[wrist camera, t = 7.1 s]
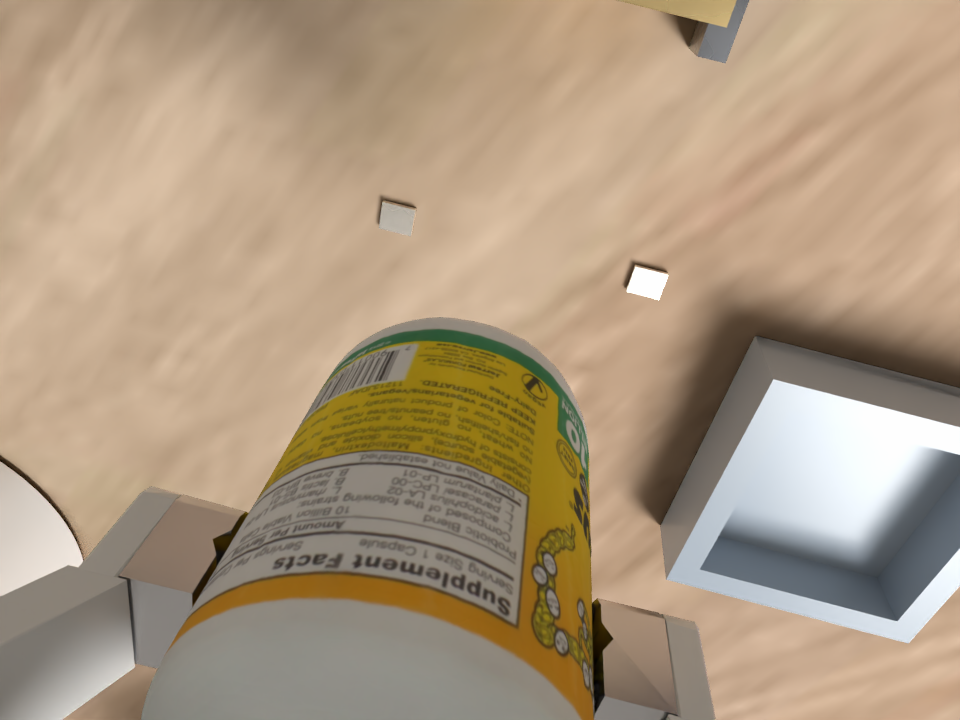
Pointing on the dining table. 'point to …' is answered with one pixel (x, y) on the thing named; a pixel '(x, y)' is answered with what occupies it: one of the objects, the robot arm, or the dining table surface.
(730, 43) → the piston track
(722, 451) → the tray
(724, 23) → the block
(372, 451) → the supplement bottle
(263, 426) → the dining table surface
